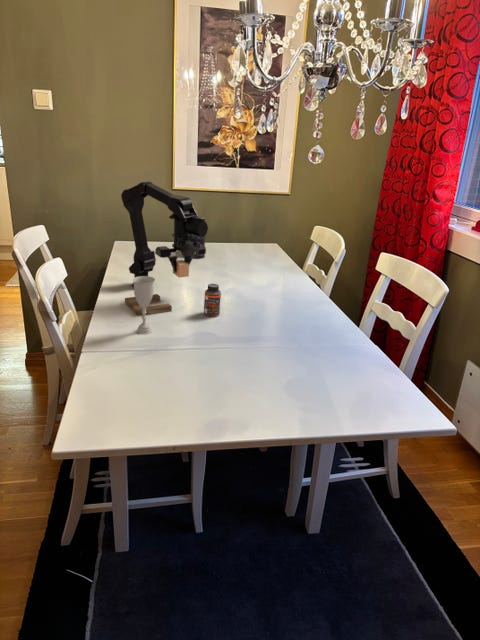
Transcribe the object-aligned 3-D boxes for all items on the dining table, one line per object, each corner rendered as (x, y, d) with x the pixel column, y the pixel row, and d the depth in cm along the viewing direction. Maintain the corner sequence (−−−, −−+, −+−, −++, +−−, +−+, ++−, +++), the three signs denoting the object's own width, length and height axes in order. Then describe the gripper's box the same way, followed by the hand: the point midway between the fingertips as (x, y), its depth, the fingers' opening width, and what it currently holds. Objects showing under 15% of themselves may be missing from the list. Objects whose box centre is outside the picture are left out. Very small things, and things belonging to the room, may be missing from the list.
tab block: (172, 273, 190) (172, 260, 188) (182, 272, 192) (182, 259, 190) (179, 277, 186) (179, 264, 184) (188, 276, 188) (189, 263, 186)
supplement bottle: (205, 317, 177) (206, 287, 172) (202, 311, 182) (203, 282, 178) (221, 316, 178) (223, 287, 174) (217, 310, 184) (219, 282, 179)
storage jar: (183, 254, 254) (183, 225, 248) (200, 253, 258) (201, 225, 252) (189, 259, 245) (190, 230, 240) (207, 258, 249) (209, 229, 244)
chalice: (146, 325, 167) (145, 274, 160) (159, 331, 163) (159, 279, 156) (128, 331, 162) (127, 279, 155) (142, 337, 158) (141, 284, 151)
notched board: (124, 303, 185) (124, 298, 184) (157, 298, 191) (157, 293, 190) (137, 316, 174) (137, 310, 173) (171, 311, 180) (171, 306, 179)
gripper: (166, 238, 172) (166, 280, 178) (213, 235, 181) (211, 275, 187) (154, 231, 180) (154, 272, 186) (200, 228, 190) (198, 267, 196)
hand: (180, 272), depth 189 cm, fingers closed on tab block, 4 cm apart
